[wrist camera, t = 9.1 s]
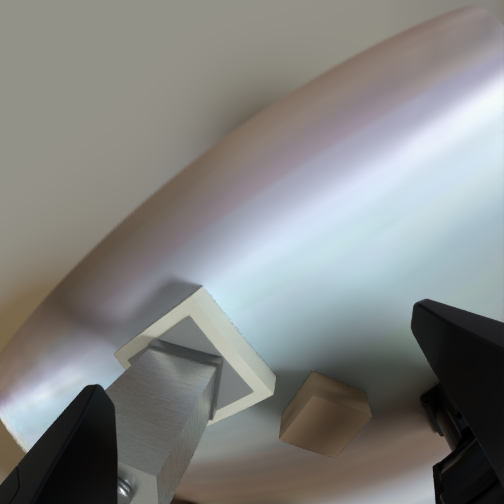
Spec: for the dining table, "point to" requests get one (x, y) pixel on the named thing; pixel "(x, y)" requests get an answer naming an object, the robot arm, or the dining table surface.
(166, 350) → the housing
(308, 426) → the walnut block
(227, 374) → the stand
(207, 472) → the dining table surface
